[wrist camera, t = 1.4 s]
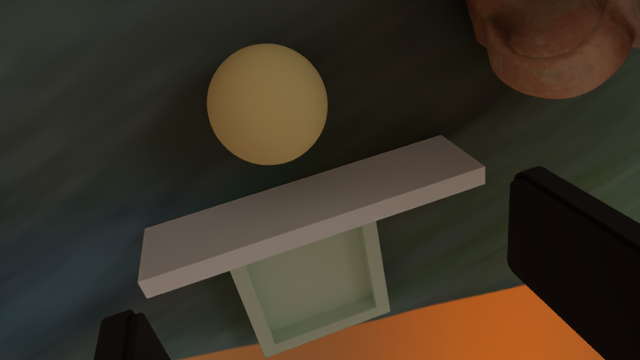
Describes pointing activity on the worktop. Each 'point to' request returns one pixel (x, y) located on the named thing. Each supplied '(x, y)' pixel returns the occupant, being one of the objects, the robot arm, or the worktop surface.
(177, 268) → the wall
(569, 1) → the ceramic jug
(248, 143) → the ball
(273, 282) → the tray
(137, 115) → the worktop surface
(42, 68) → the worktop surface
